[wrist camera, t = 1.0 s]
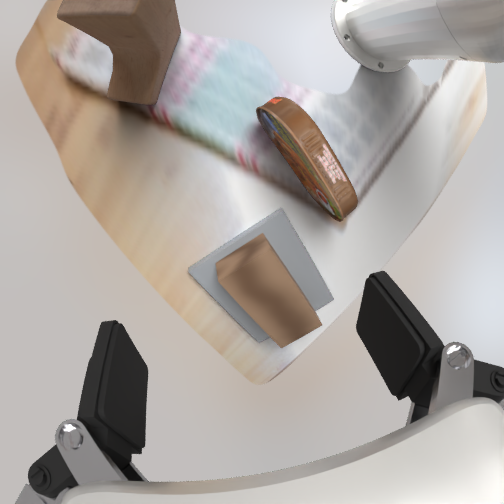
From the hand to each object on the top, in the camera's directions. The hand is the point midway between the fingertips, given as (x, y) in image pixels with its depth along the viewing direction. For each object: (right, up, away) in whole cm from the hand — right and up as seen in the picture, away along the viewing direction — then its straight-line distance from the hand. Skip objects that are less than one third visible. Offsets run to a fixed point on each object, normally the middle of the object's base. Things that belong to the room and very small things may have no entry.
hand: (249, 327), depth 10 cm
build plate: (+2, -2, +29) cm, 30 cm away
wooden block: (-11, +22, +12) cm, 28 cm away
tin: (+5, +14, +21) cm, 26 cm away
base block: (+3, -2, +29) cm, 29 cm away
